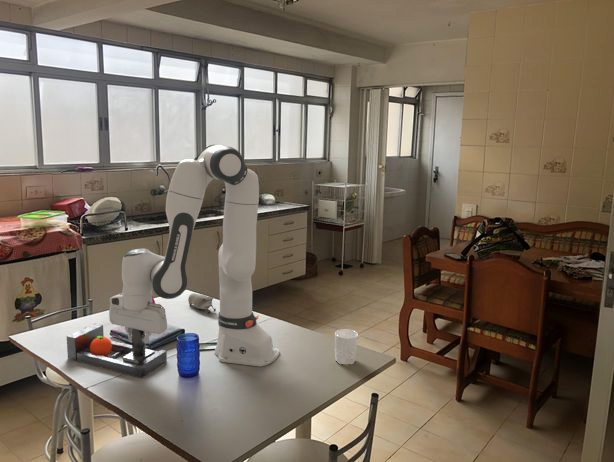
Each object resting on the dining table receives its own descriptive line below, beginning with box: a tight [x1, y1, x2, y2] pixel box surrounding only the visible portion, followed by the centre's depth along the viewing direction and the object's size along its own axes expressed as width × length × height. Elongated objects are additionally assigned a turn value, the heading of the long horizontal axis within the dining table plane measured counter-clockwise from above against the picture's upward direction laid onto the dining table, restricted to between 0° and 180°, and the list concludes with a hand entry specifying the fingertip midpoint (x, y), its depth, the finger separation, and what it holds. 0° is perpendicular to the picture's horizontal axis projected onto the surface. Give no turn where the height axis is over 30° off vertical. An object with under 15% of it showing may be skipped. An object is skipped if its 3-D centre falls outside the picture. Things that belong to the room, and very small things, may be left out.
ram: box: [122, 328, 156, 365], centre depth 162 cm, size 6×8×13 cm
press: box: [66, 323, 168, 379], centre depth 166 cm, size 30×12×8 cm, turn 68°
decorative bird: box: [187, 292, 217, 315], centre depth 215 cm, size 5×16×8 cm, turn 49°
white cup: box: [334, 328, 359, 365], centre depth 171 cm, size 8×8×10 cm
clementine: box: [90, 336, 112, 357], centre depth 168 cm, size 8×7×7 cm
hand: (138, 341), depth 161 cm, fingers closed on ram, 4 cm apart
